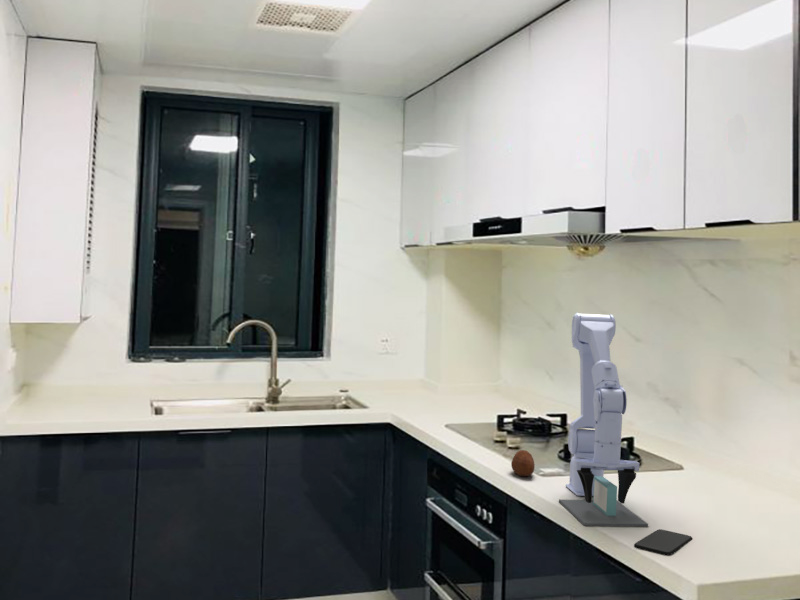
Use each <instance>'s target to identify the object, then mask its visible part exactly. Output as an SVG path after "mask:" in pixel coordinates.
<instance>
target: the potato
mask: <svg viewBox="0 0 800 600" xmlns="http://www.w3.org/2000/svg"><path fill="white" fill-rule="evenodd" d="M510 467H511V469H512V471H513V472H514V473H515V474H517V476H520V477H529V476H532V475H533V474H534V471H535V460H534V458H533V456H532V454H531V452H529V451H527V450H524V449H522V450H518V451H517V452H515V454H514V455H513V458H512V459H511V466H510Z"/></svg>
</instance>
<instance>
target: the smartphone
mask: <svg viewBox="0 0 800 600" xmlns="http://www.w3.org/2000/svg"><path fill="white" fill-rule="evenodd" d="M692 540H693V536H691V535H688V534H683V533H678V532H675V531H672V530H671V531H670V530H666V529H660V528H659V529H657V530H655V531H653V532H652V533H650V534H648V535H646V536H645V537H643V538H641V539H639V541H637V542H635V543H634V544H633V546H634V548H636V549H638V550H641V551H642V550H643V551H646V552H651V553H654V554H659V555H662V556H672V555H674V554H675V553H677V552H678V551H679V550H680V549H682V548H683V547H684V546H685V545H687V544H688V543H689V542H691V541H692ZM674 552H675V553H674Z"/></svg>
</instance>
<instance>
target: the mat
mask: <svg viewBox="0 0 800 600" xmlns="http://www.w3.org/2000/svg"><path fill="white" fill-rule="evenodd" d="M558 503H559V504H560V505H562V507H563V508H565V509H566V511H568V513H569V514H571V515H572V516H573V517H574V518H575V519H576V520H577V521H578V522H579V523H580V524H581V525H582V526H583V527H625V528H627V527H628V528H629V527H630V528H631V527H635V528H639V527H640V528H649V523H648V522H647V521H645V520H644V519H643V518H641V517H640V516H638V515H637V514H636V513H635V512H633V511H631V510H630V509H629V508H628V507H626V506H625V505H624V504H623V503H620V502H619V501H618V500H617V501H616V516H607V515H606V514H604V513H603V512H602V511H601V510H600V509H598V508H597V507H596V506H595V505H594V504H593V499H592V500H591V503H588V502H586V501H585V499H558Z"/></svg>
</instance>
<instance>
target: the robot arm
mask: <svg viewBox="0 0 800 600" xmlns="http://www.w3.org/2000/svg"><path fill="white" fill-rule="evenodd" d="M571 320H572V321H571V343H572V348H574V349H576V350H578V355H579V364H580V365H579V368H580V372H579V373H580V374H579V375H580V377H579V378H580V379H579V380H580V381H579V382H580V383H579V384H580V415H579V416H578V417H577V418H575V419H574V420H573V421H571V422H570V425H569V432H568V438H567V439H568V441H567V443H568V444H567V445H568V451H569V452H570V454H571V455H573V456H572V457H571V459H570V463H569V481H568V482H569V483H566V484H565V487H566V488H567V489H568V490H570V491H571V492H572V493H573V494H574V495H576V496H577V497H582V496H583V497H584V500H585V501H586V502H588V503H591V500H593V493H594V476H601V477H604V475H605V473H604V471H617V478H618V487H617V501H618V502H620V503H621V504H625V502H626V501H625V500H626V498H627V494H628V492H629V490H630V487H631V486H632V484H633V482H634V481H635V480H636V478H637V473H636V472H640V462H638V461H637V460H626V459H625V460H624V459H621V448H622V446H621V445H622V427H623V426H622V425H623V415H625V413H626V411H627V406H628V405H627V403H628V401H627V400H628V399H627V392H626V390H625V388H624V386H623V385H621V384H620V383H621V382H620V378H619V374H618V368H617V366H616V364H615V363H613V362H611V351H610V350H611V349H610V345H611V343H612V342H613V338H614V337H615V335H616V328H617V327H616V326H617V324H616V318H615V316H614V315H613V314H597V313H596V314H594V313H579V312H575V314H574V315H573V316H572V319H571Z"/></svg>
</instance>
